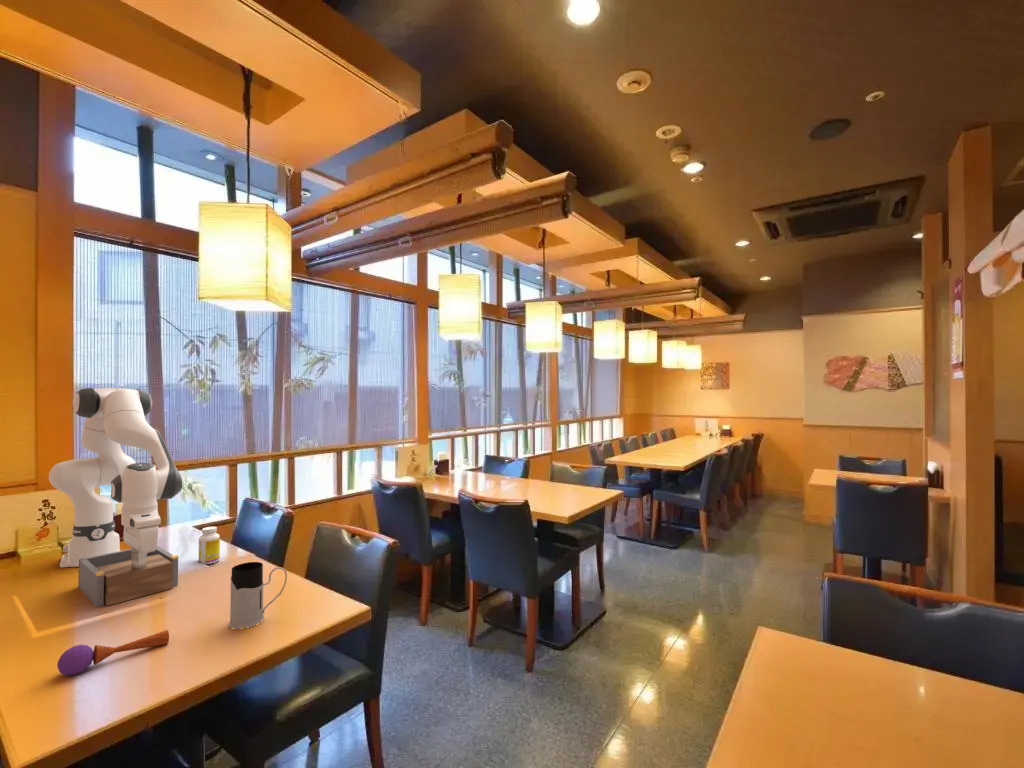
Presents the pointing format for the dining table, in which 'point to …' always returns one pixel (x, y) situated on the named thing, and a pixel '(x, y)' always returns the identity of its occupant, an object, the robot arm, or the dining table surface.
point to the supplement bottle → (209, 546)
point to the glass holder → (248, 594)
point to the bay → (94, 579)
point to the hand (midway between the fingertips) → (139, 562)
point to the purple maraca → (102, 653)
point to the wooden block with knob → (136, 578)
